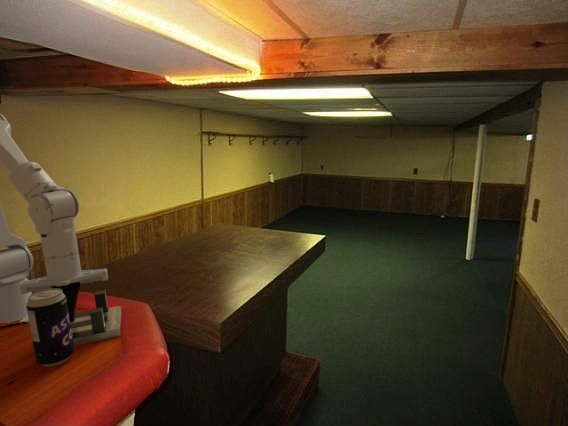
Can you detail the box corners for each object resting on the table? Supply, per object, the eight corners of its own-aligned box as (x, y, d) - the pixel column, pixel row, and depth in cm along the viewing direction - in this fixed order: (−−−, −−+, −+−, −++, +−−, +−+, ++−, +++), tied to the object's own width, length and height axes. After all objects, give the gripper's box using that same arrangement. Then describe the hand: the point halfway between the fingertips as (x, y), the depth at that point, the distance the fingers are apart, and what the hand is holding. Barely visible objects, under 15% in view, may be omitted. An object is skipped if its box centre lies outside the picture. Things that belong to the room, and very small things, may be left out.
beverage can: (57, 370, 61) (45, 301, 59) (28, 368, 62) (16, 300, 60) (82, 351, 67) (72, 287, 65) (55, 350, 68) (44, 287, 66)
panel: (48, 325, 78) (43, 300, 77) (121, 311, 83) (117, 287, 82) (34, 355, 66) (29, 325, 65) (120, 336, 72) (116, 309, 71)
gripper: (10, 266, 65) (23, 338, 67) (102, 253, 70) (111, 320, 73) (20, 256, 72) (32, 322, 74) (104, 244, 77) (113, 307, 79)
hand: (72, 320), depth 74 cm, fingers closed
